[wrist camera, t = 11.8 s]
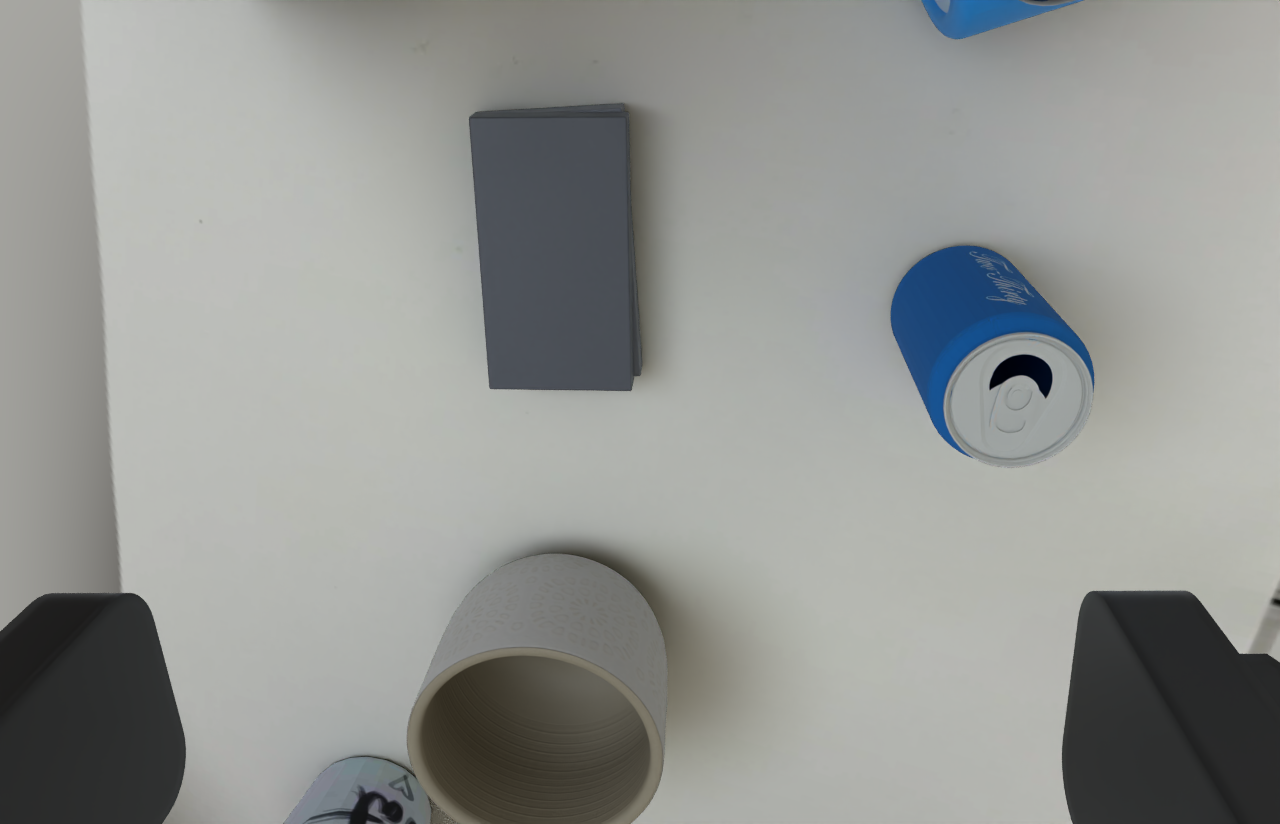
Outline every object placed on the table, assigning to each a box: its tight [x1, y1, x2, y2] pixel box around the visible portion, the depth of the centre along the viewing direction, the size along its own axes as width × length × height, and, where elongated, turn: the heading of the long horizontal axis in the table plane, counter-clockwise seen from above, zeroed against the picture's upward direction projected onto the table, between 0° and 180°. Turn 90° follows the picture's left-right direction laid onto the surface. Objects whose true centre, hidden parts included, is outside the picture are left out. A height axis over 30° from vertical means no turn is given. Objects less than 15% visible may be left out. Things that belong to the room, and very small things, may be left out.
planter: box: [407, 554, 668, 824], centre depth 56 cm, size 12×12×11 cm
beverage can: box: [891, 246, 1094, 468], centre depth 47 cm, size 6×6×12 cm
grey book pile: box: [469, 103, 642, 391], centre depth 51 cm, size 13×8×3 cm, turn 4°
